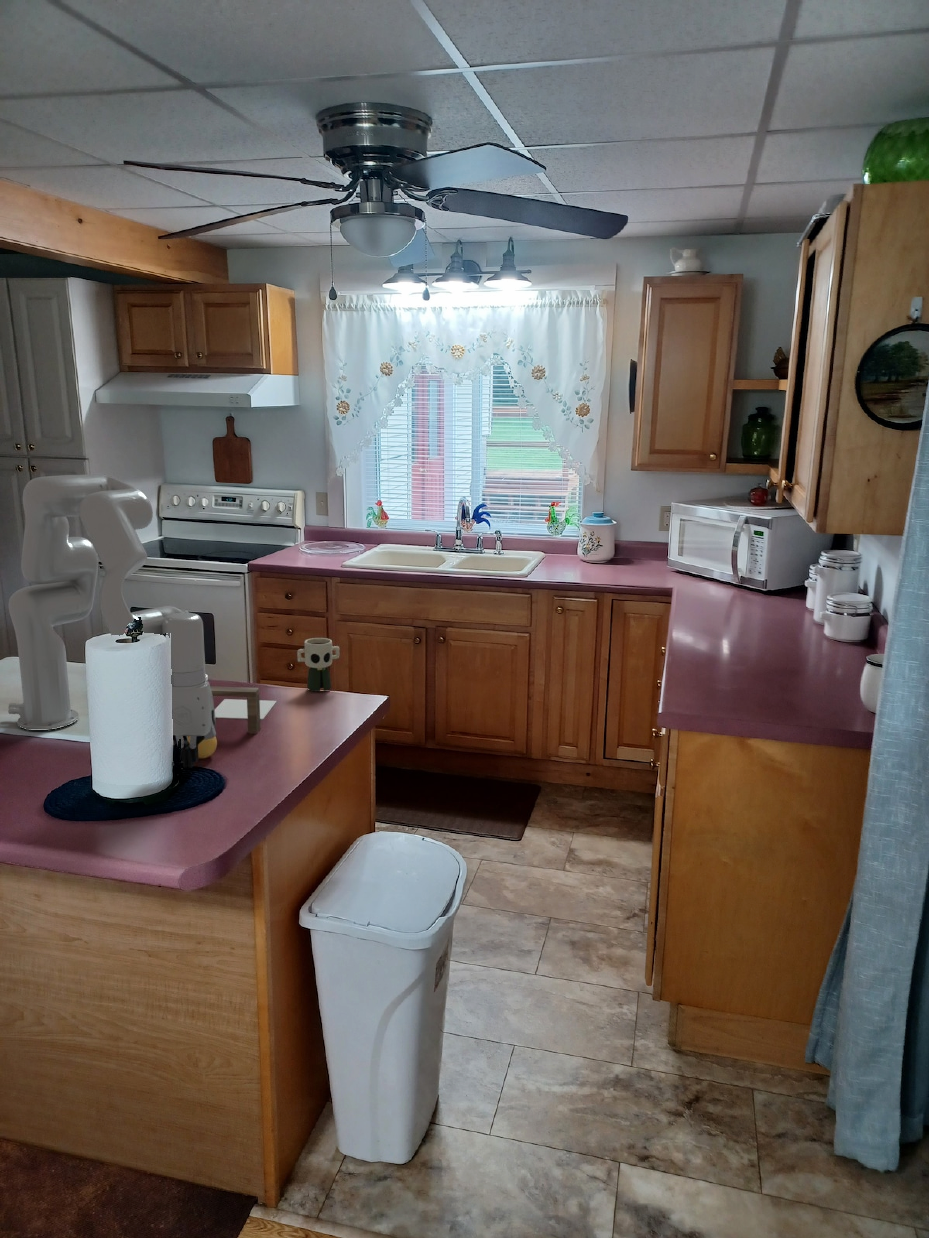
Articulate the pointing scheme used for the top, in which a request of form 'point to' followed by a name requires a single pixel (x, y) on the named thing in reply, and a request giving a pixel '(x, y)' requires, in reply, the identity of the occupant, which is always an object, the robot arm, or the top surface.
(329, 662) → the character mug
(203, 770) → the top surface
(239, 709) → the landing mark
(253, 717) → the bridge
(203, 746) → the ball
